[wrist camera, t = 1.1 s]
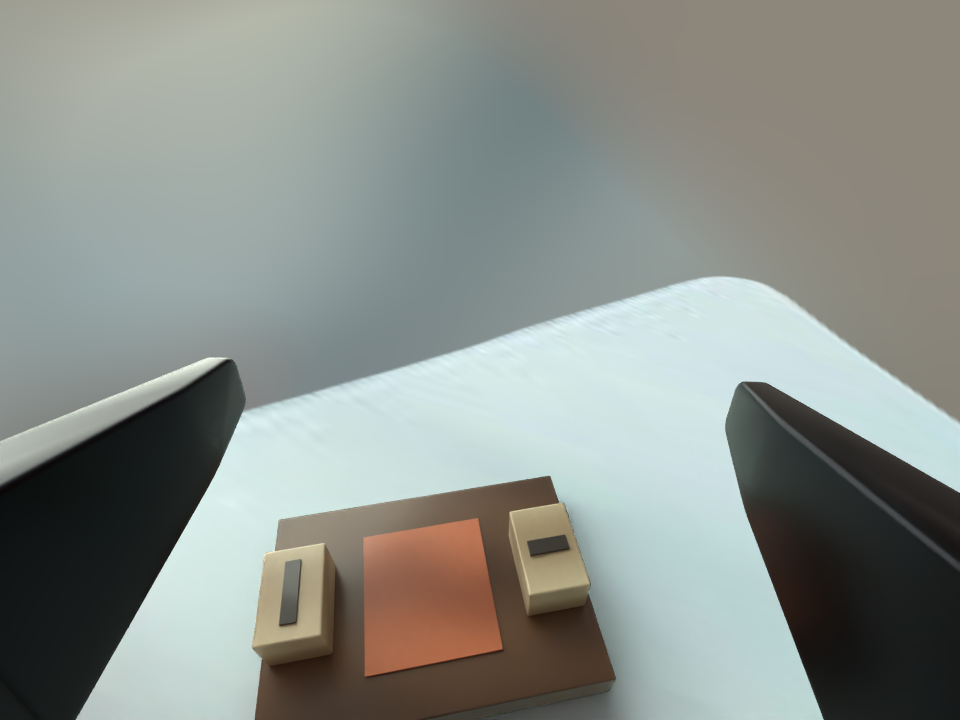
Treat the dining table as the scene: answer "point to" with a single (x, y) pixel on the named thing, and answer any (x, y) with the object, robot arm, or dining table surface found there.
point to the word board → (428, 610)
